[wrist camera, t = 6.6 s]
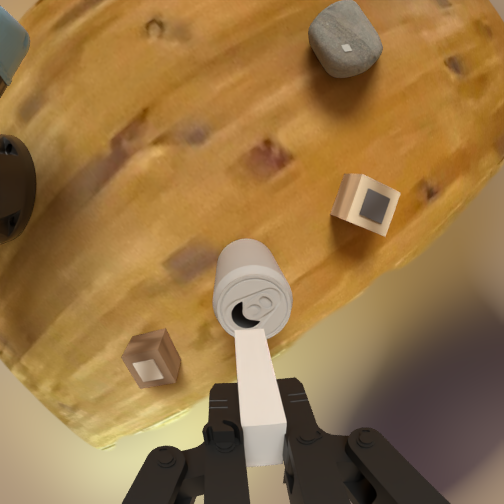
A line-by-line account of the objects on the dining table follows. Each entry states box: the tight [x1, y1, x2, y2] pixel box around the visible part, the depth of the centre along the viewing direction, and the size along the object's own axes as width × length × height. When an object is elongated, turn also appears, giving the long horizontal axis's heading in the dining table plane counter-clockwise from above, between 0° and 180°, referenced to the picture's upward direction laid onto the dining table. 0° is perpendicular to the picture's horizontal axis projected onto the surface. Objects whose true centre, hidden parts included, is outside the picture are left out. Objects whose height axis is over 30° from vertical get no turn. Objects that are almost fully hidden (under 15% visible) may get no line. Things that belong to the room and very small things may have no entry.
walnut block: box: [121, 328, 181, 389], centre depth 33 cm, size 5×5×5 cm
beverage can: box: [213, 239, 293, 339], centre depth 28 cm, size 6×6×12 cm
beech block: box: [330, 174, 400, 236], centre depth 30 cm, size 5×5×5 cm
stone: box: [308, 0, 383, 78], centre depth 25 cm, size 9×9×10 cm
